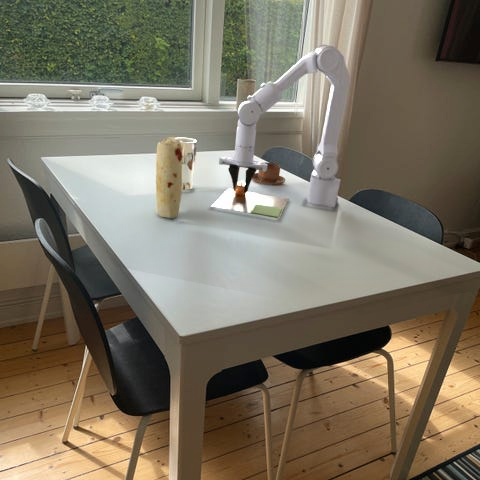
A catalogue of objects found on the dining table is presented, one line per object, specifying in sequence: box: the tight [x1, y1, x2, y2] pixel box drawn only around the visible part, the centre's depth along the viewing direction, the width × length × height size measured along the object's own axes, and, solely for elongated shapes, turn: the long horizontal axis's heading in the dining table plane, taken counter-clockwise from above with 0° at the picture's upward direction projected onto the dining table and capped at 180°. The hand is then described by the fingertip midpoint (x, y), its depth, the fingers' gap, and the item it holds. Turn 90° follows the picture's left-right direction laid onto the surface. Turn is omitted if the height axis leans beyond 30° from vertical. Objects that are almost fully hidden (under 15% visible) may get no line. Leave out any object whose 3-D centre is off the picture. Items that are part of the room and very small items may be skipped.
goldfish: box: [235, 180, 246, 196], centre depth 150 cm, size 6×3×4 cm, turn 167°
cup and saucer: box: [252, 162, 286, 186], centre depth 167 cm, size 12×12×6 cm
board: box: [210, 188, 290, 219], centre depth 146 cm, size 20×20×1 cm
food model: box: [155, 136, 183, 220], centre depth 127 cm, size 10×7×20 cm
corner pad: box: [249, 204, 282, 218], centre depth 140 cm, size 8×8×1 cm
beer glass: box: [175, 137, 197, 190], centre depth 149 cm, size 7×7×15 cm
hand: (240, 191), depth 150 cm, fingers closed on goldfish, 3 cm apart
